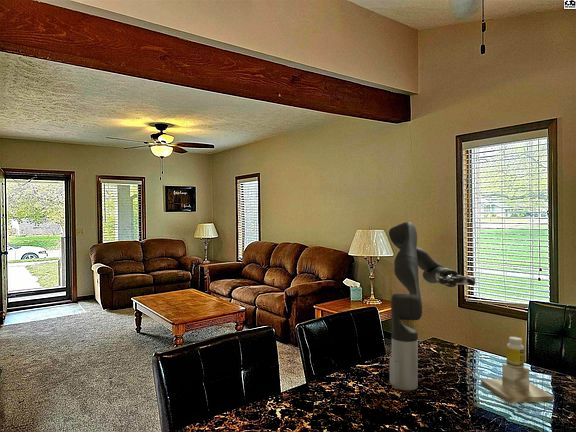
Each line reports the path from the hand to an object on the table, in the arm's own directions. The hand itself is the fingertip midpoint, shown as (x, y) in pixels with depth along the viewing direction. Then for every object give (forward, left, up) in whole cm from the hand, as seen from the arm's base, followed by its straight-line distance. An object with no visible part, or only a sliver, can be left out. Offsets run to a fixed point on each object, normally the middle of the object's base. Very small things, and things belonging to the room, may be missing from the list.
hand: (463, 282), depth 168 cm
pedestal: (+7, -22, -35) cm, 42 cm away
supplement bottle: (+7, -22, -26) cm, 35 cm away
